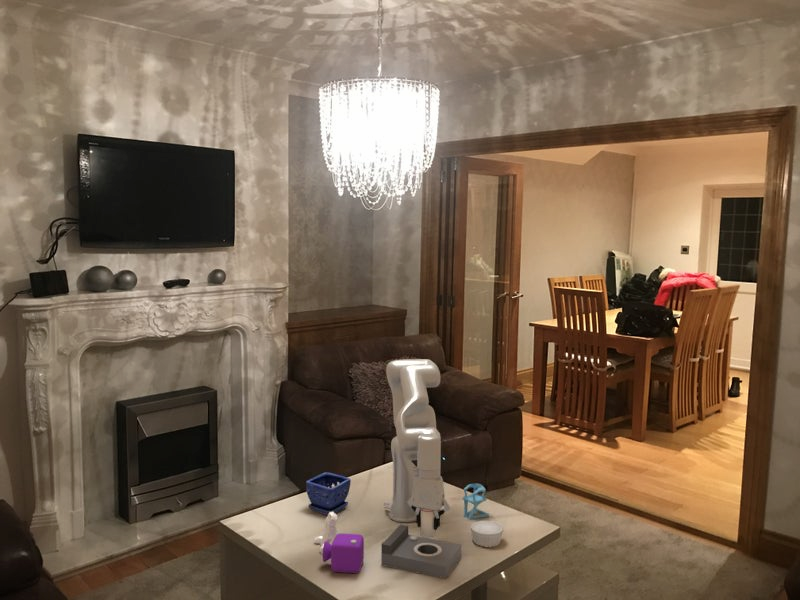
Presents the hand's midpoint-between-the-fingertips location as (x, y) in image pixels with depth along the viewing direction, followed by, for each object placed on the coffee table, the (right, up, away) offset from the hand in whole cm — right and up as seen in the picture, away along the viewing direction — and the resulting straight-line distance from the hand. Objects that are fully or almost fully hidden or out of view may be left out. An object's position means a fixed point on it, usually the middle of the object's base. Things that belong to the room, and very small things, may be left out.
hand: (428, 526), depth 212 cm
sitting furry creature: (-34, -11, +12) cm, 37 cm away
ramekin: (+21, -11, +16) cm, 29 cm away
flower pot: (-37, -8, +42) cm, 57 cm away
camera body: (-2, -12, +2) cm, 12 cm away
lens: (0, -2, 0) cm, 2 cm away
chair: (+19, -9, +38) cm, 43 cm away
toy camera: (-28, -12, -2) cm, 30 cm away
